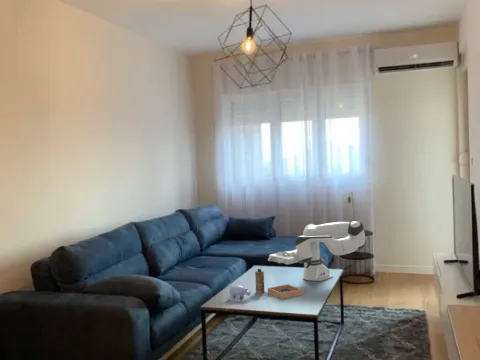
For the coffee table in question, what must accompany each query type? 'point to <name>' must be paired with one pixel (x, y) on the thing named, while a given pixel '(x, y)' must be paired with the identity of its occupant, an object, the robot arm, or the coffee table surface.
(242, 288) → the hippopotamus toy
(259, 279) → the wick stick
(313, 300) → the coffee table surface
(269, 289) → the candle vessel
